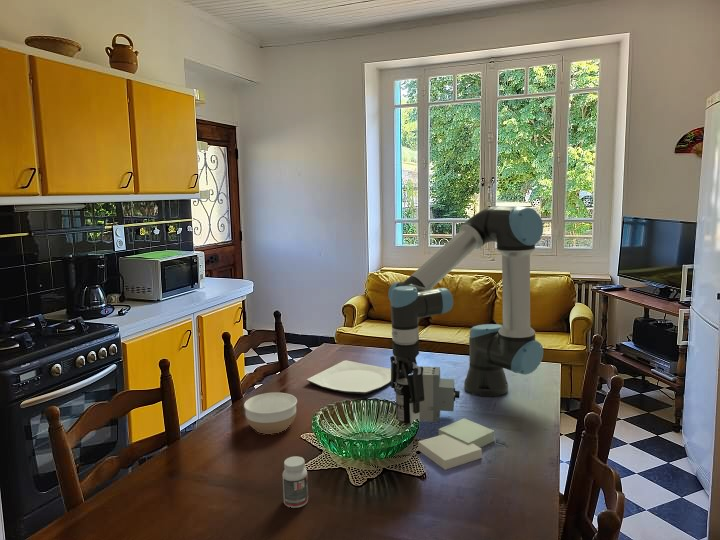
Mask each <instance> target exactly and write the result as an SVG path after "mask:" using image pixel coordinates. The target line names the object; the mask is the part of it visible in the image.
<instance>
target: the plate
mask: <svg viewBox="0 0 720 540" xmlns="http://www.w3.org/2000/svg"><path fill="white" fill-rule="evenodd" d="M306 381H307V382H308V383H310V384H312V385H315V386H317V387H319V388H321V389H326V390H331V391H334V392H338V393H345V394H355V395H356V394H357V395H368V394H370V393H372V392H375V391H378V390H380V389H382V388H384V387H385V386H388V384H391V367H389V368H388V367H382V366H378V365H372V364H366V363H361V362H356V361H351V360H345V359H344V360H342V361H341V362H338V363H336V364H335V365H333V366H331V367H329V368H326V369H325V370H322V371H320V372H318V373H316V374H315V375H312V376H311V377H309V378H306Z"/></svg>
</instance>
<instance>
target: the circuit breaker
mask: <svg viewBox="0 0 720 540" xmlns="http://www.w3.org/2000/svg"><path fill="white" fill-rule="evenodd" d="M418 366H419V367H423V386H424V399H425V400H424V401H422V402H420V412H419V418H420V422H429V423H431V422H432V423H439V422H440V415H441V412H443V411H444V412H454V410H455V401H456V399H460V393H461V391H460V390H456V388H455V379H454V378H441V367H440V366H425V365H423V366H422V365H418Z"/></svg>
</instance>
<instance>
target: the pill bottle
mask: <svg viewBox="0 0 720 540" xmlns="http://www.w3.org/2000/svg"><path fill="white" fill-rule="evenodd" d="M305 461H306V460H305V459H304V458H303V457H302V456H296V455H295V456H290V457H287V458H285V460H284V462H283V468H284V470H283V471H282V476H281V477H282V497H283V504H284V505H285V506H287V508H290V507H291V508H292V509H296V508H297V509H298V508H301V507H304V506H305V505H306V504H307V503H308V501H309V486H308V485H309V480H308V471H307V469H306V467H305V465H306V462H305Z"/></svg>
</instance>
